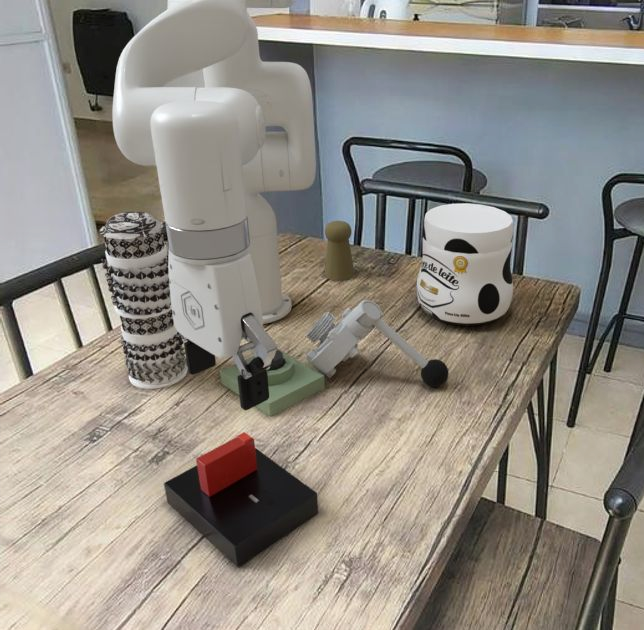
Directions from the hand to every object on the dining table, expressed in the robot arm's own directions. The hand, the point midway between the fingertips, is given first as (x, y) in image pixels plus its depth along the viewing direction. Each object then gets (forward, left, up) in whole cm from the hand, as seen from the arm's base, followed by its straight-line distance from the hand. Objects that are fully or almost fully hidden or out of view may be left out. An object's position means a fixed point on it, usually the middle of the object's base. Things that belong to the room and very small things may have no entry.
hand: (228, 386), depth 73 cm
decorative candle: (-31, +7, -16) cm, 36 cm away
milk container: (-11, +56, -16) cm, 59 cm away
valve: (-7, +30, -16) cm, 35 cm away
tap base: (+2, -1, -16) cm, 16 cm away
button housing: (-16, +17, -16) cm, 28 cm away
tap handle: (0, -1, -13) cm, 13 cm away
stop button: (-16, +17, -12) cm, 26 cm away
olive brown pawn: (-39, +51, -16) cm, 66 cm away
